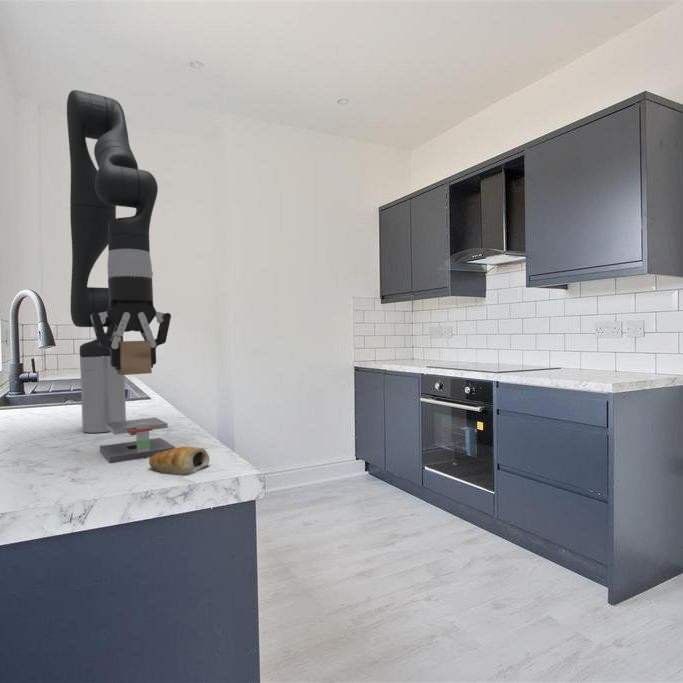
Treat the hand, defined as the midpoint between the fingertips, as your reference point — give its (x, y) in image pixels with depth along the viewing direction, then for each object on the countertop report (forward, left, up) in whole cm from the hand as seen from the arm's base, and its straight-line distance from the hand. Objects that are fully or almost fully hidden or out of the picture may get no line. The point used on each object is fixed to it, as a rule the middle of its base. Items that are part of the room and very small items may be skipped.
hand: (133, 368), depth 91 cm
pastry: (+17, +3, -16) cm, 24 cm away
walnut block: (0, 0, -1) cm, 1 cm away
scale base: (0, 0, -15) cm, 15 cm away
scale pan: (+1, 0, -12) cm, 12 cm away
